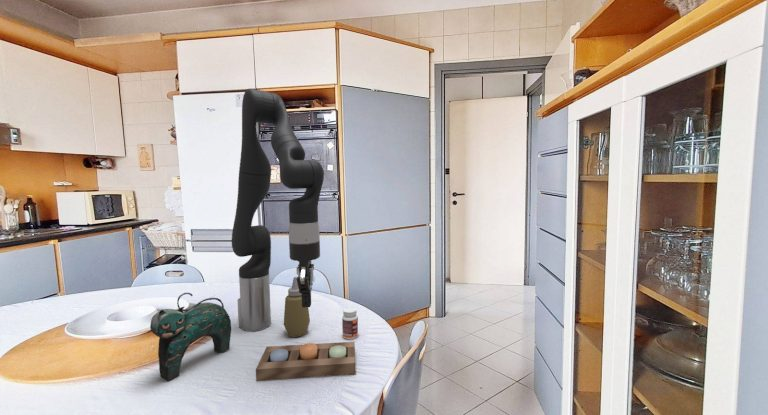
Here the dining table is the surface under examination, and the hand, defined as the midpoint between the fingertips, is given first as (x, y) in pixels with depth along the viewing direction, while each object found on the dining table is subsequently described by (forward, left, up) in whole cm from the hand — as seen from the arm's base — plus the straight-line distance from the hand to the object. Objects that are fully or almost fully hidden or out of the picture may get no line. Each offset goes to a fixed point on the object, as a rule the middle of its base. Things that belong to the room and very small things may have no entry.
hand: (306, 306), depth 88 cm
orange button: (0, 0, -14) cm, 14 cm away
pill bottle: (+5, +18, -16) cm, 25 cm away
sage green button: (+7, +3, -15) cm, 17 cm away
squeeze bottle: (-12, +16, -16) cm, 26 cm away
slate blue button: (-7, -2, -15) cm, 17 cm away
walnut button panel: (0, 0, -16) cm, 16 cm away
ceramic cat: (-30, -6, -16) cm, 35 cm away
